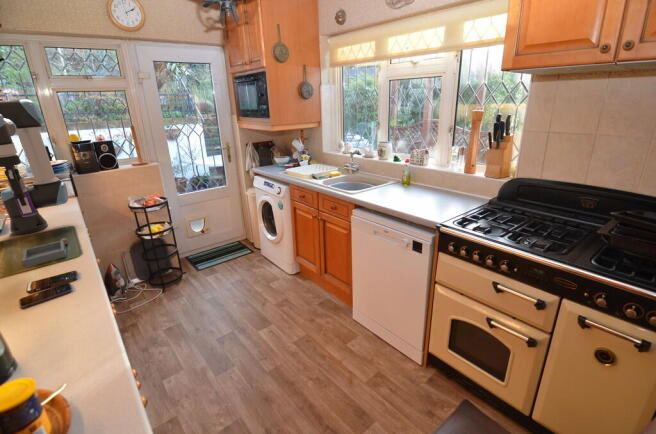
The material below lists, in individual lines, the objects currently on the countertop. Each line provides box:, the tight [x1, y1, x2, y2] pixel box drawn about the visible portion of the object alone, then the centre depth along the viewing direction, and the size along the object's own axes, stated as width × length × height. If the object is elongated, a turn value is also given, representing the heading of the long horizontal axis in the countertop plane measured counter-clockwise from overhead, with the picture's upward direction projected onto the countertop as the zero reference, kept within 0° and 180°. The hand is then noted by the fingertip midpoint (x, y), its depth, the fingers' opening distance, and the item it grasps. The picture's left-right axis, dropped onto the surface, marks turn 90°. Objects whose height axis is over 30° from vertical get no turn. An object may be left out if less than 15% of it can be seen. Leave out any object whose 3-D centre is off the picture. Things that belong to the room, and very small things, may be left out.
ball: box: [59, 237, 69, 246], centre depth 157 cm, size 3×3×3 cm
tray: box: [21, 239, 67, 268], centre depth 146 cm, size 14×14×3 cm
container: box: [7, 178, 36, 217], centre depth 137 cm, size 5×5×15 cm
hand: (27, 211), depth 139 cm, fingers closed on container, 5 cm apart
